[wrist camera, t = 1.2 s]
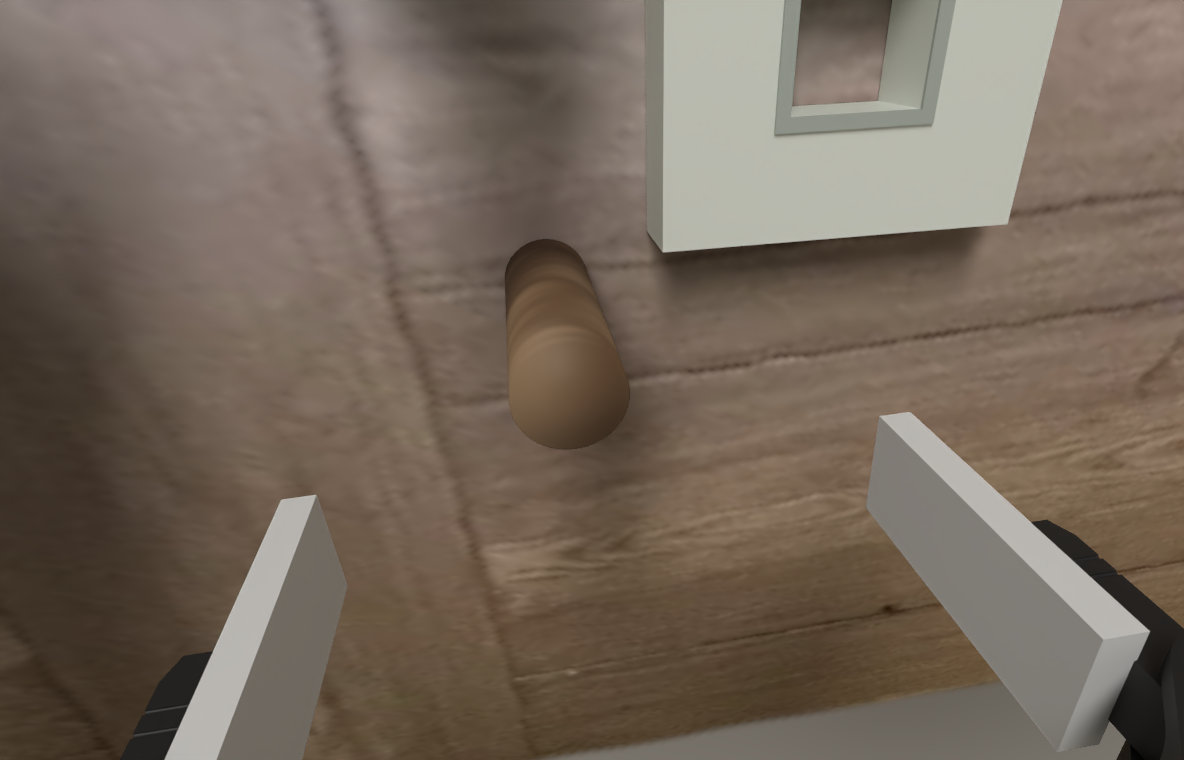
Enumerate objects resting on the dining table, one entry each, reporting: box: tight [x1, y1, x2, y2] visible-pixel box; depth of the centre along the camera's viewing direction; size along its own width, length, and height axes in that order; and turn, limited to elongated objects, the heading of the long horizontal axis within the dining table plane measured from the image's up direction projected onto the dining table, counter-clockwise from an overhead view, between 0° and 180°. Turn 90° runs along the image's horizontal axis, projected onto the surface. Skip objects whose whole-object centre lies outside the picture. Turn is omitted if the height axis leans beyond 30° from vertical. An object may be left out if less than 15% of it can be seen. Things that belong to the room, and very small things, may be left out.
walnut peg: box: [505, 239, 630, 449], centre depth 27 cm, size 4×4×12 cm
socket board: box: [645, 0, 1063, 252], centre depth 27 cm, size 16×16×4 cm
